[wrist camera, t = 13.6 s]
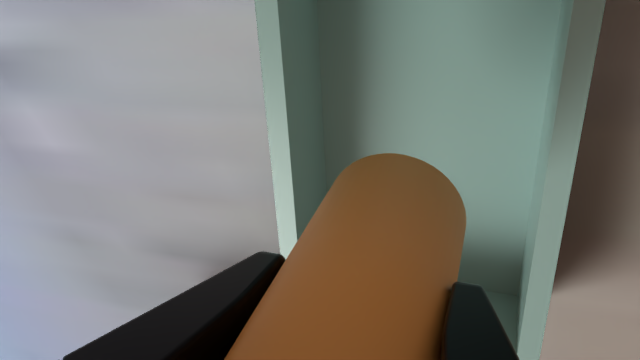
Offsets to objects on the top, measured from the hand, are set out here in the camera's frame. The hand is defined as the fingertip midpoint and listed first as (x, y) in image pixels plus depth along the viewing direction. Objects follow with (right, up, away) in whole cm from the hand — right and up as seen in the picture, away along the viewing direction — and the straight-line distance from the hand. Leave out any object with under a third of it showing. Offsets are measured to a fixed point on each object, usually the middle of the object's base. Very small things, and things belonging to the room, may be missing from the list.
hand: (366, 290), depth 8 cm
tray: (+2, +3, +6) cm, 7 cm away
